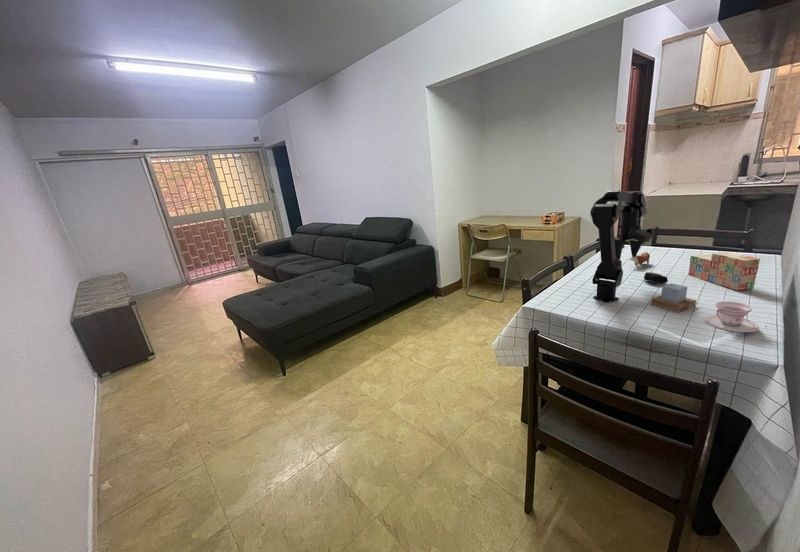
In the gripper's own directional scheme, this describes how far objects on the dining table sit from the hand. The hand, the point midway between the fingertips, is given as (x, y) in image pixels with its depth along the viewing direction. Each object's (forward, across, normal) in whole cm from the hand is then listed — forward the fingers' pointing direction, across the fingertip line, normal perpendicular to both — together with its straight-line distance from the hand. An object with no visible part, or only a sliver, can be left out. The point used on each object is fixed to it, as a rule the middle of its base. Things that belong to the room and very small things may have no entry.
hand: (626, 258), depth 134 cm
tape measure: (+12, +10, -6) cm, 17 cm away
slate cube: (+10, -6, -22) cm, 25 cm away
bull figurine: (+13, +28, +13) cm, 33 cm away
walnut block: (+13, -6, -22) cm, 27 cm away
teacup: (+13, -7, -40) cm, 42 cm away
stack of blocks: (+13, +32, -17) cm, 38 cm away
